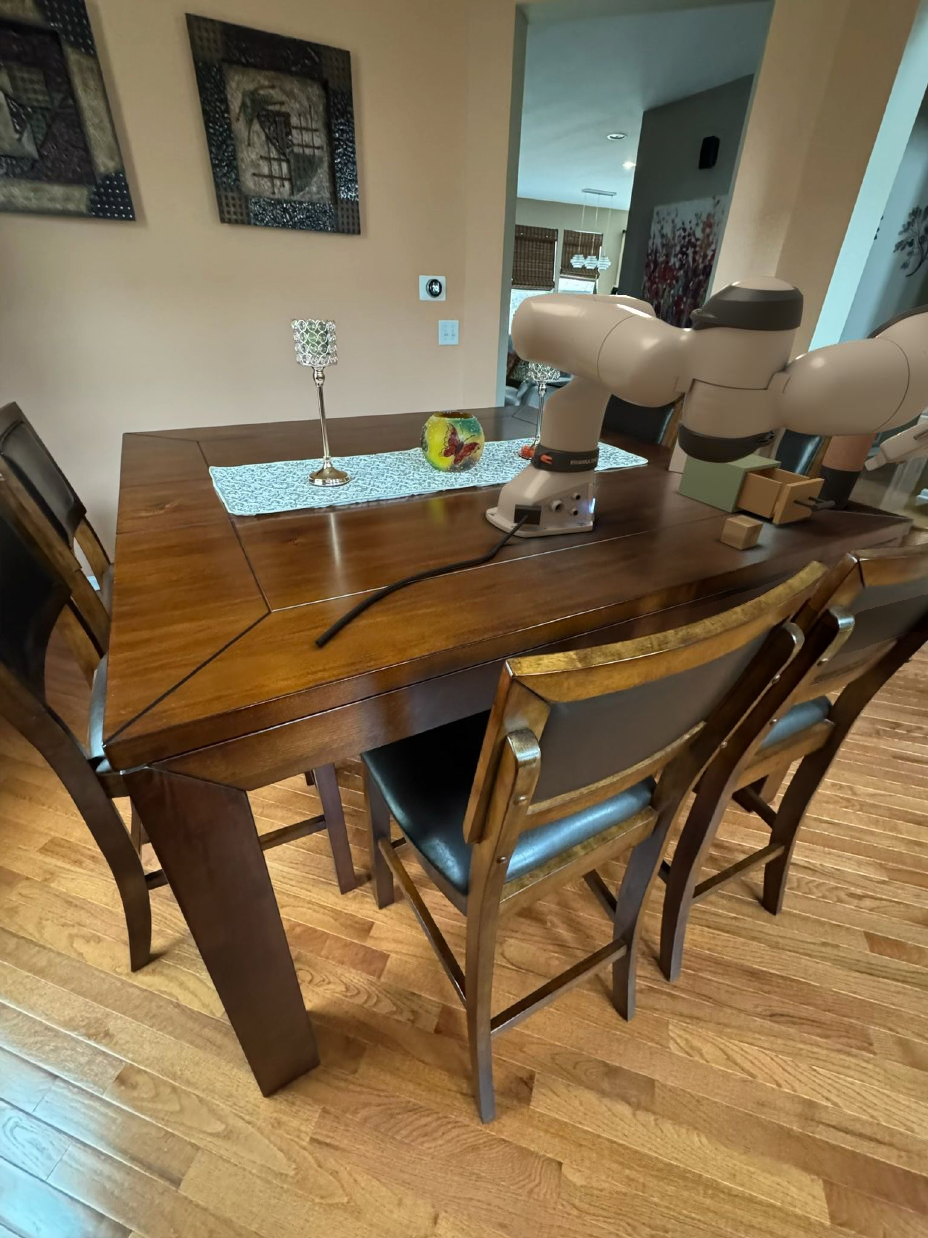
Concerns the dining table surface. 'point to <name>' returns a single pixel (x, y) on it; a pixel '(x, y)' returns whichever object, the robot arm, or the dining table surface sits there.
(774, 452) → the plastic bottle
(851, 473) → the travel mug
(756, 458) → the cabinet
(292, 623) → the dining table surface
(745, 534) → the block
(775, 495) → the drawer
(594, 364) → the robot arm
